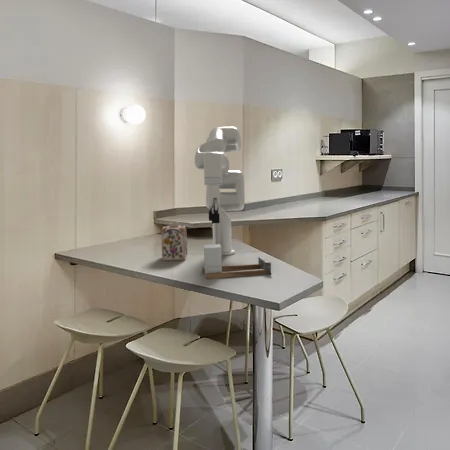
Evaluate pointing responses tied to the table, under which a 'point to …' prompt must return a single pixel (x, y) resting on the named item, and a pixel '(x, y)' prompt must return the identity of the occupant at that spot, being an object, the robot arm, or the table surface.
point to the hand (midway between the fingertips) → (214, 221)
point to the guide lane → (261, 269)
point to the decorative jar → (174, 242)
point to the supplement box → (212, 258)
